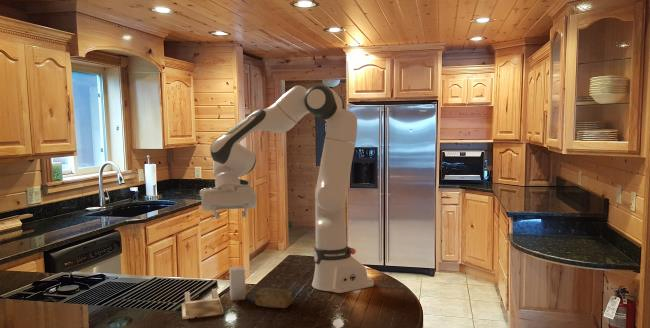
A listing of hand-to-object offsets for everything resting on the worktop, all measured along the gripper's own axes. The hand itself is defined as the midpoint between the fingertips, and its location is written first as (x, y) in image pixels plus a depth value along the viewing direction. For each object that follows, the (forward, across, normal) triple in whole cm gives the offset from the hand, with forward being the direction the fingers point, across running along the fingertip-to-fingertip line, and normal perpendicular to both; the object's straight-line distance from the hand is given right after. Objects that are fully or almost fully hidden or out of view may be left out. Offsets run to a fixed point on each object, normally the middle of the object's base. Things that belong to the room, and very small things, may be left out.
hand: (231, 217), depth 162 cm
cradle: (+32, -12, +4) cm, 34 cm away
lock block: (+27, 0, +9) cm, 28 cm away
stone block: (+35, +10, +2) cm, 36 cm away
